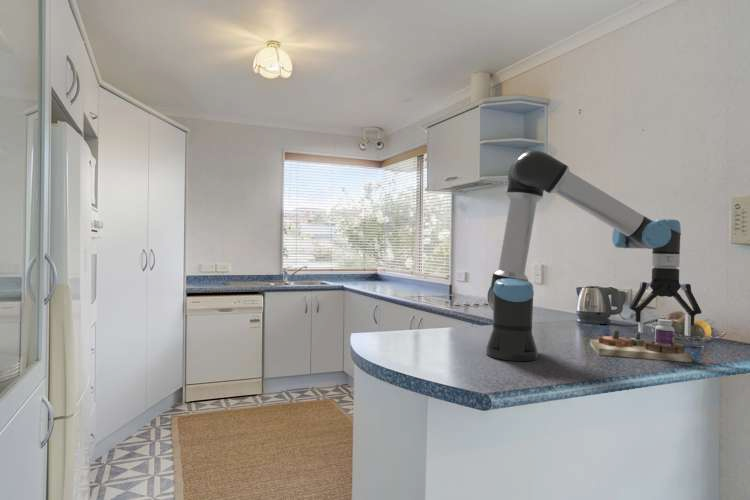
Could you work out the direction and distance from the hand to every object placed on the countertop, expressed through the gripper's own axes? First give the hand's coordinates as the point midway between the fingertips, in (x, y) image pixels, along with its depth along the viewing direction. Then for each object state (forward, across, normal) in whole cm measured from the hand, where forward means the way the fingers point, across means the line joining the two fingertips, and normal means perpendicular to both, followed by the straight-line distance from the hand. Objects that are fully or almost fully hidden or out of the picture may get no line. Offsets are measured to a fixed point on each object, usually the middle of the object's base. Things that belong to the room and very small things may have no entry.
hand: (663, 334), depth 151 cm
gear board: (+7, -7, +2) cm, 10 cm away
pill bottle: (+5, 0, 0) cm, 5 cm away
